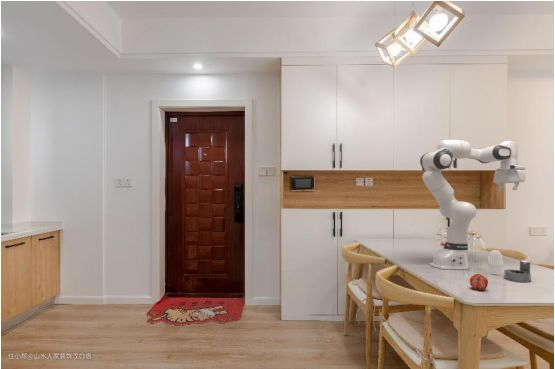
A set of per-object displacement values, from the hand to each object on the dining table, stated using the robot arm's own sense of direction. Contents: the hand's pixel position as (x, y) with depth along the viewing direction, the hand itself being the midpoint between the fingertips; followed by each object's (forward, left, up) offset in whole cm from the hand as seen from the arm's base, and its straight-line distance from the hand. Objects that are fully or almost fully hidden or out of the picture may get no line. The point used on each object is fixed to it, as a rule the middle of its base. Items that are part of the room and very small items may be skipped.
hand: (508, 190), depth 220 cm
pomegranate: (-52, -43, -46) cm, 81 cm away
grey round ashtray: (-20, -29, -46) cm, 58 cm away
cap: (-10, -24, -46) cm, 53 cm away
